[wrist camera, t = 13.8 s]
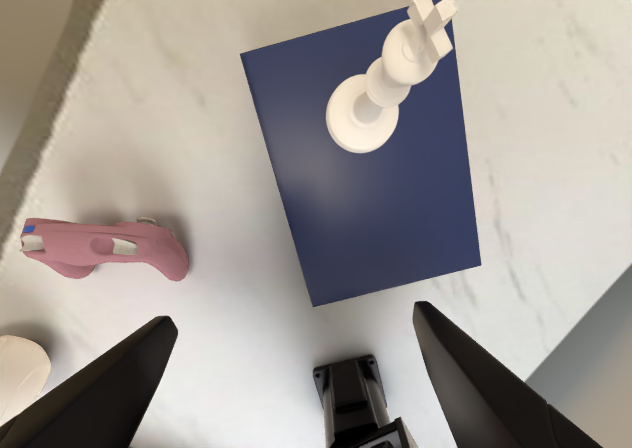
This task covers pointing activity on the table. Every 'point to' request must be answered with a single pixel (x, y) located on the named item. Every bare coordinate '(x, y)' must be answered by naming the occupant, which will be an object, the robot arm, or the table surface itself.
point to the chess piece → (389, 78)
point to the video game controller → (102, 246)
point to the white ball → (20, 374)
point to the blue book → (365, 165)
